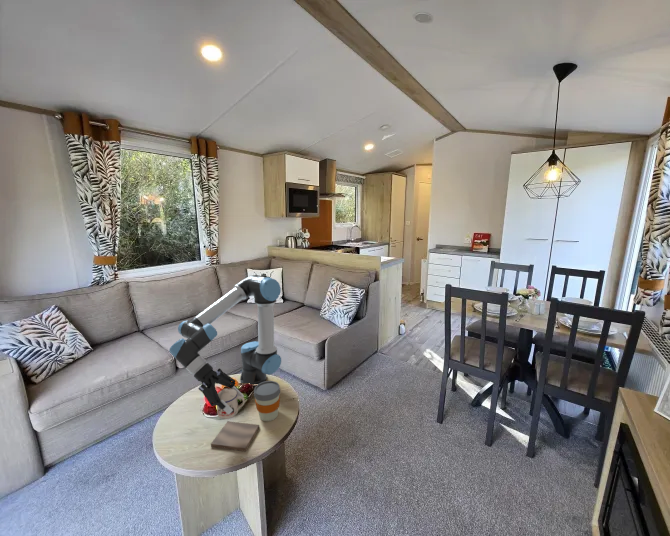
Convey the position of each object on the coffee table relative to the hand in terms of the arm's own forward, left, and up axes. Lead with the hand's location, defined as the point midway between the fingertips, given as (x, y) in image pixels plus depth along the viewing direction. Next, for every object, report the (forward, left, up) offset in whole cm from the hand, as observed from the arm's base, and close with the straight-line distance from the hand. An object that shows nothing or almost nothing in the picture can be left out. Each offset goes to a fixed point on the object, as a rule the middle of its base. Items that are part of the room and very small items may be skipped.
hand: (236, 405), depth 130 cm
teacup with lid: (-1, -3, -5) cm, 6 cm away
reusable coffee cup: (-16, +7, -17) cm, 25 cm away
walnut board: (0, -2, -17) cm, 17 cm away
